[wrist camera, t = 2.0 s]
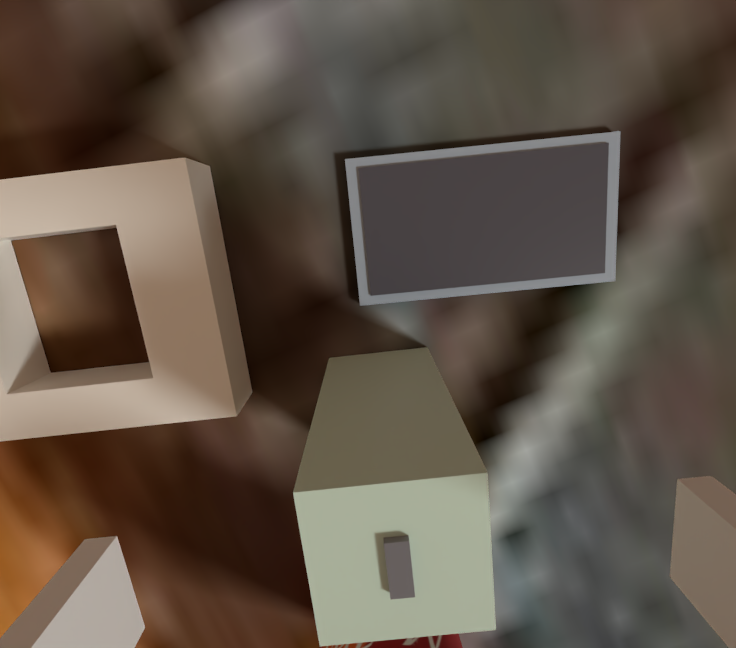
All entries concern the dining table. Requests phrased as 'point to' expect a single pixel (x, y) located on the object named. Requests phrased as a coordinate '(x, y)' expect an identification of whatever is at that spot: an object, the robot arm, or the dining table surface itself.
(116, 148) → the dining table surface
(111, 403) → the power strip
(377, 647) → the coffee cup
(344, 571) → the block
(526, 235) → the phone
